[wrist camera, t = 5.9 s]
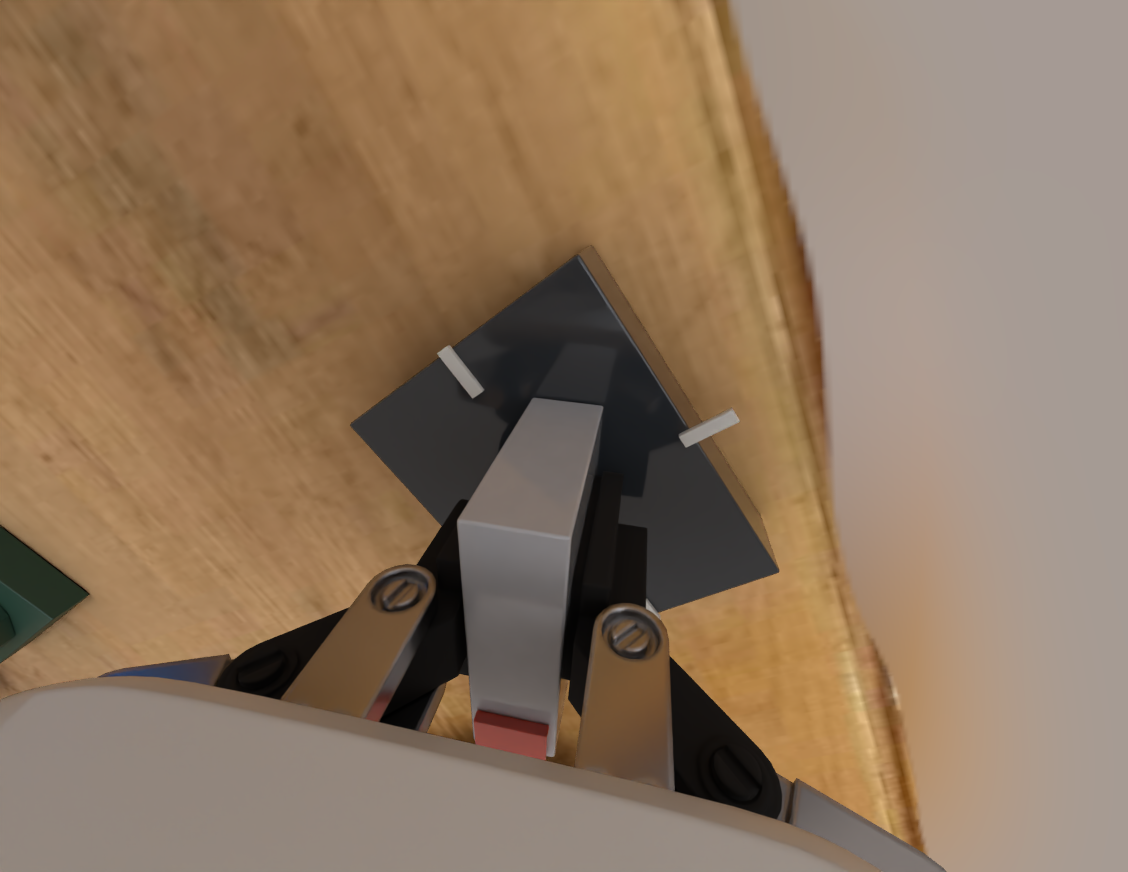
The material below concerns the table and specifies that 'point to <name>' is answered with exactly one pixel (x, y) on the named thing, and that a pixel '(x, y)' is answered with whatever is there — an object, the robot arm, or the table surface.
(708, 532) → the plate
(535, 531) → the tap handle
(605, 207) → the table surface
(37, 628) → the button box
